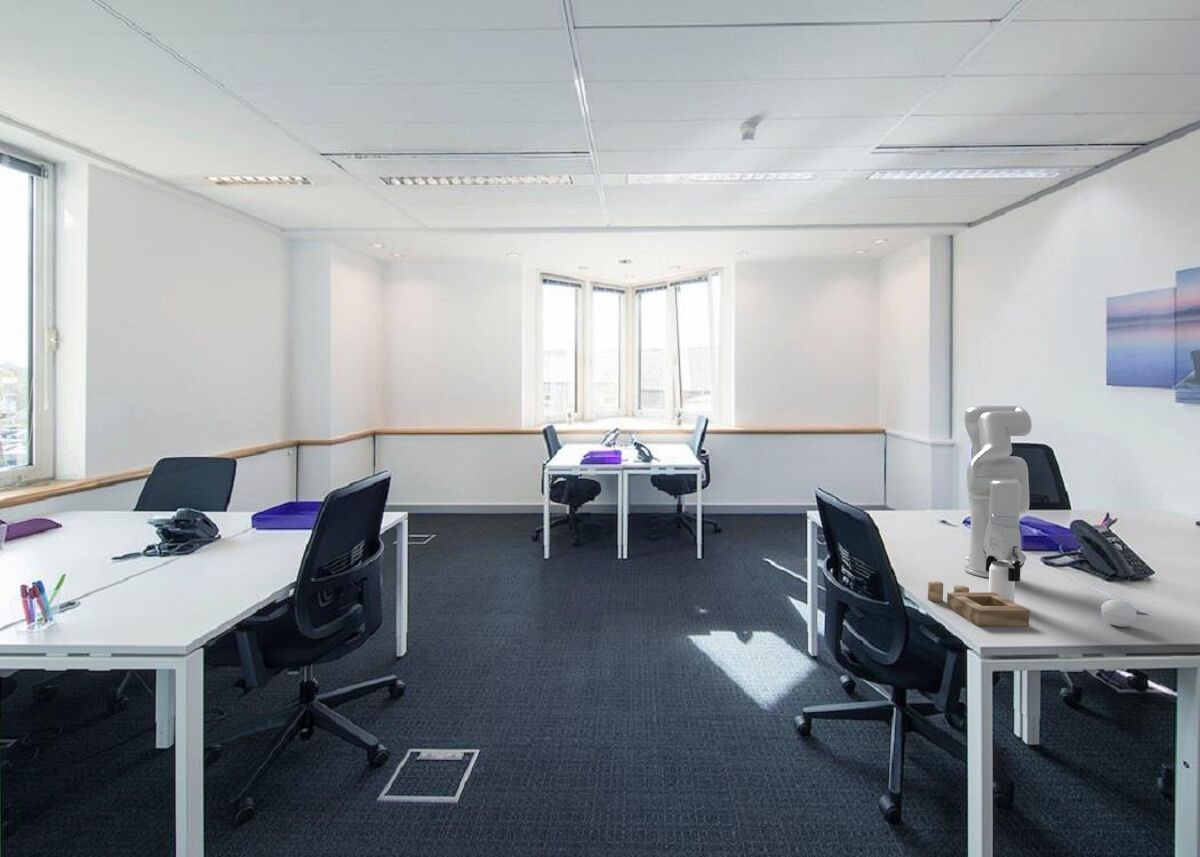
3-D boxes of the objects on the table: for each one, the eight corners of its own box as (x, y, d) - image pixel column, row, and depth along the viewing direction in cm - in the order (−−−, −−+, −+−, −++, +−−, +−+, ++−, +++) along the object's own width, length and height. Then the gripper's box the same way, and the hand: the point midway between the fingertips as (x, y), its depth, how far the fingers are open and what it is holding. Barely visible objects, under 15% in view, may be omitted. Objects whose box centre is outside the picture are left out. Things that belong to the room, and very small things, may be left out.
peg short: (950, 597, 176) (951, 585, 175) (963, 597, 176) (963, 585, 175) (958, 602, 172) (959, 589, 171) (971, 602, 172) (972, 589, 171)
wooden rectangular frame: (947, 607, 168) (947, 592, 167) (993, 607, 168) (994, 592, 167) (977, 626, 154) (978, 610, 154) (1028, 626, 154) (1029, 610, 153)
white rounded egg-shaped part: (1117, 620, 157) (1118, 594, 157) (1144, 631, 150) (1145, 604, 149) (1083, 620, 157) (1084, 595, 156) (1108, 632, 149) (1109, 605, 149)
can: (986, 602, 172) (987, 563, 171) (990, 596, 176) (991, 559, 175) (1011, 607, 167) (1013, 568, 166) (1016, 601, 171) (1017, 563, 171)
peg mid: (925, 597, 176) (925, 580, 175) (937, 597, 176) (938, 580, 175) (932, 602, 172) (933, 585, 171) (945, 602, 172) (946, 585, 171)
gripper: (972, 515, 179) (971, 568, 179) (1012, 526, 161) (1010, 584, 162) (996, 515, 178) (995, 568, 179) (1038, 526, 161) (1036, 585, 162)
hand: (1002, 576), depth 170 cm, fingers open, 9 cm apart
